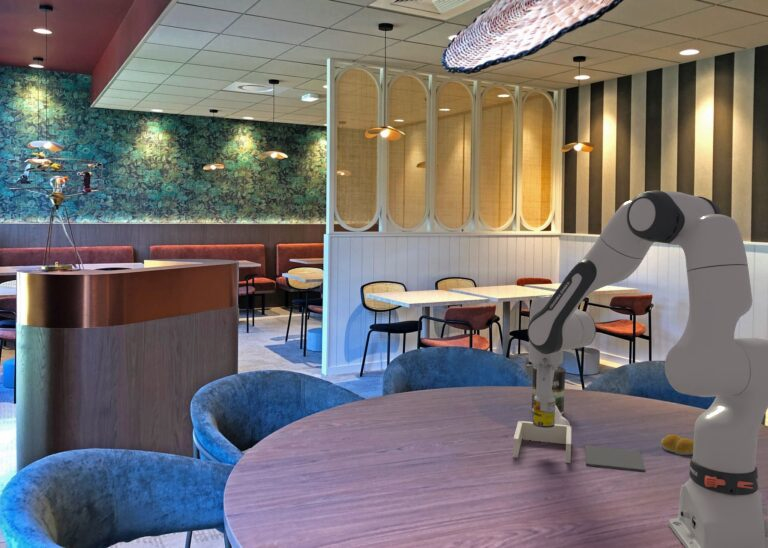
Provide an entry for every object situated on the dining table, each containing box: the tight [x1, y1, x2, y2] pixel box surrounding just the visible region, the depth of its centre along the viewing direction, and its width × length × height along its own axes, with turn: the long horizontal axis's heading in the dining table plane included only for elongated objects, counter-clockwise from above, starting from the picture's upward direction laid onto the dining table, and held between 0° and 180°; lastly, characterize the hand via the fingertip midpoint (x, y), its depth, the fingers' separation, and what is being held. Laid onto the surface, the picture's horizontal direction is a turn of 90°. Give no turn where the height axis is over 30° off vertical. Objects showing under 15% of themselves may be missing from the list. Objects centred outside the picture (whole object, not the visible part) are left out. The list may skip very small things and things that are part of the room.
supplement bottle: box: [532, 390, 555, 430], centre depth 177 cm, size 6×6×10 cm
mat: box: [584, 445, 646, 472], centre depth 174 cm, size 14×14×1 cm
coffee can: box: [531, 366, 567, 415], centre depth 215 cm, size 10×10×14 cm
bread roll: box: [660, 433, 694, 456], centre depth 181 cm, size 8×9×4 cm
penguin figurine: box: [532, 405, 571, 426], centre depth 197 cm, size 6×8×12 cm
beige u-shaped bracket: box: [512, 420, 572, 464], centre depth 180 cm, size 16×14×5 cm
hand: (544, 406), depth 177 cm, fingers closed on supplement bottle, 5 cm apart
